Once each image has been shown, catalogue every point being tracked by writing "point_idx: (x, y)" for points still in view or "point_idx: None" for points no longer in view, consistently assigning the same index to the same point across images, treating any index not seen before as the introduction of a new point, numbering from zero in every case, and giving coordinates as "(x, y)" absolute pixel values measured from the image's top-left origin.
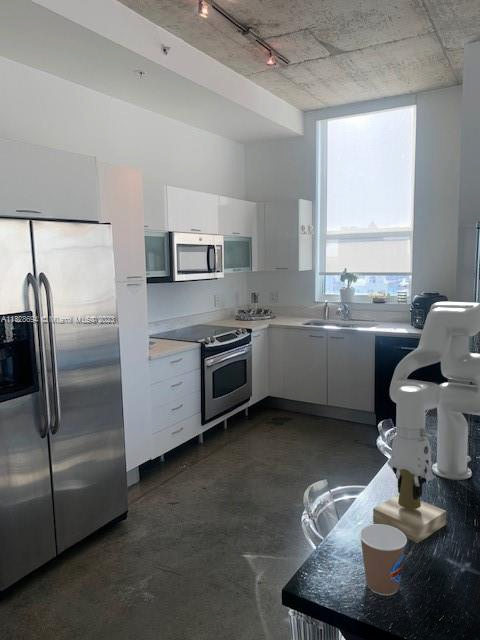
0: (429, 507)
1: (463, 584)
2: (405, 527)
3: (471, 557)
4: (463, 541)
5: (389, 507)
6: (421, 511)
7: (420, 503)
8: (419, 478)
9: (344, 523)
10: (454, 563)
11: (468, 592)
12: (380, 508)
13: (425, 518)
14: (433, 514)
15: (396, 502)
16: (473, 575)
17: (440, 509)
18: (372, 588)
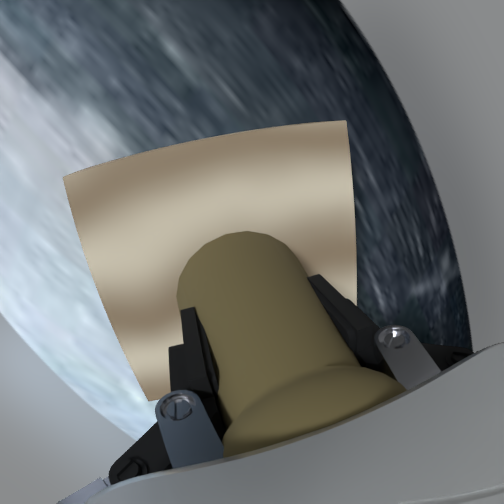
0: (277, 163)
1: (454, 319)
2: None
3: (443, 227)
4: (405, 174)
5: (169, 346)
6: (283, 237)
7: (299, 262)
8: (389, 373)
9: (126, 426)
10: (428, 287)
11: (462, 325)
12: (160, 380)
13: (334, 269)
14: (333, 206)
15: (140, 285)
16: (460, 281)
17: (323, 132)
18: None
